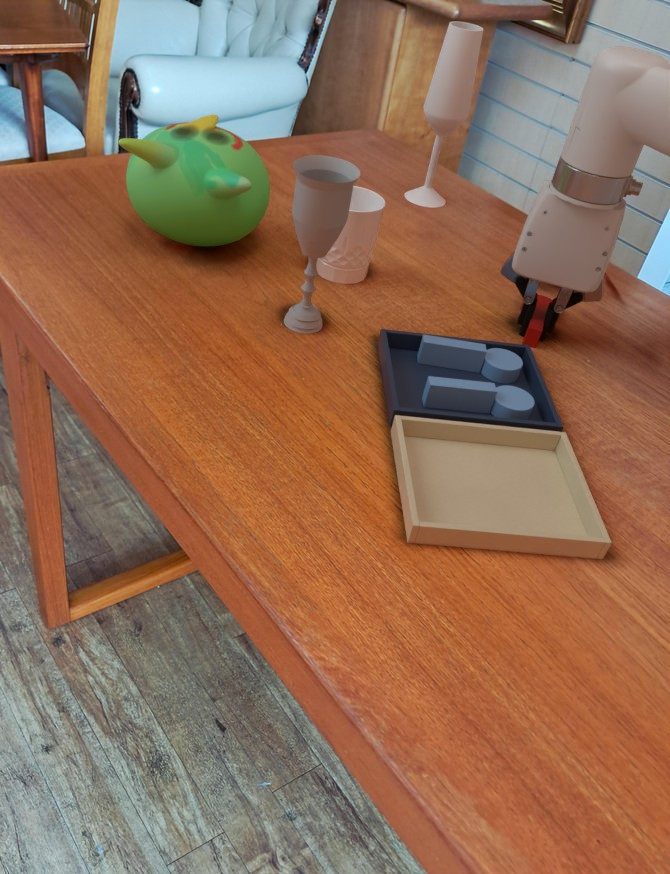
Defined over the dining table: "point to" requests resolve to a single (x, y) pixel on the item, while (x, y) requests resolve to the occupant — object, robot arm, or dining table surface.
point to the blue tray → (410, 378)
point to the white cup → (354, 240)
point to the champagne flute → (449, 98)
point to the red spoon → (536, 321)
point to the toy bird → (197, 183)
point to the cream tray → (494, 489)
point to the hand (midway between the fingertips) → (532, 332)
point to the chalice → (318, 223)
